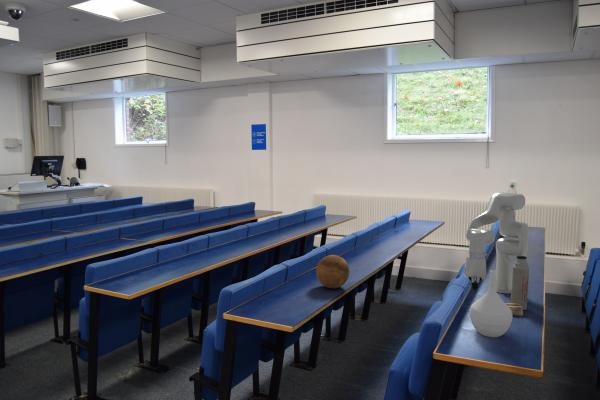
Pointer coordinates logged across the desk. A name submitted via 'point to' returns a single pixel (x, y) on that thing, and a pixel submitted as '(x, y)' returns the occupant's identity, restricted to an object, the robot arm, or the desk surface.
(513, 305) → the rail
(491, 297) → the vase
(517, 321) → the desk surface
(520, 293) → the thermos bottle
